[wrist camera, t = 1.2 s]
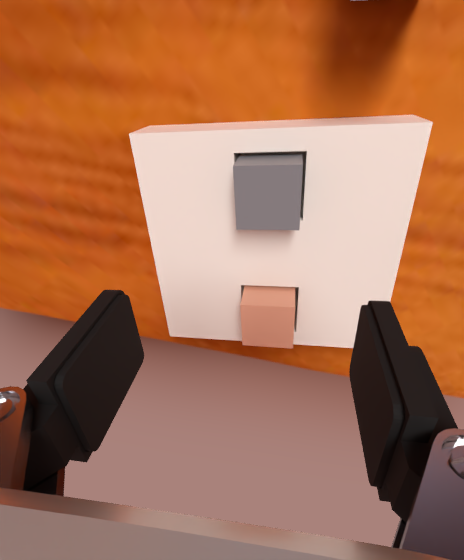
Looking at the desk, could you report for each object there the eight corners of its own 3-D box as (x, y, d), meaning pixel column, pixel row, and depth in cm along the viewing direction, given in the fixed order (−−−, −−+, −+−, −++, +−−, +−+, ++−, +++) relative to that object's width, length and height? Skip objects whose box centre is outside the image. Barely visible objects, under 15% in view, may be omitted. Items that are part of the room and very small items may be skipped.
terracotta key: (295, 286, 29) (295, 307, 26) (293, 326, 31) (292, 348, 29) (244, 285, 30) (240, 304, 27) (246, 323, 32) (242, 345, 29)
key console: (413, 114, 24) (432, 121, 21) (370, 322, 34) (378, 349, 31) (149, 125, 27) (128, 133, 24) (181, 312, 37) (169, 336, 34)
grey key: (301, 154, 23) (302, 164, 21) (298, 214, 25) (299, 230, 23) (239, 155, 24) (232, 165, 21) (241, 214, 26) (236, 229, 24)
